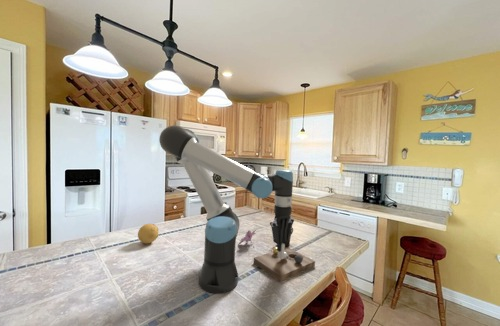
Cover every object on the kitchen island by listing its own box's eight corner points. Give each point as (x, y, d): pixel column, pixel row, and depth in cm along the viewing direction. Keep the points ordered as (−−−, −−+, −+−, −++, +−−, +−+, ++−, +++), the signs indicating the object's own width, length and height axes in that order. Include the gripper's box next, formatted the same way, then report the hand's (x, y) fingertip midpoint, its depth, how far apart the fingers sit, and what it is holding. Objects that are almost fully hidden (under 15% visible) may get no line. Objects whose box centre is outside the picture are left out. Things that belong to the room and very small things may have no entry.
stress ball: (135, 247, 108) (143, 239, 103) (133, 229, 113) (141, 220, 108) (154, 245, 115) (163, 237, 111) (152, 228, 120) (160, 220, 116)
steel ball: (284, 254, 94) (289, 253, 96) (279, 251, 97) (284, 249, 99) (284, 262, 94) (289, 260, 96) (278, 258, 97) (284, 257, 99)
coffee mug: (279, 248, 113) (280, 230, 113) (273, 242, 122) (274, 224, 121) (298, 247, 116) (300, 229, 116) (291, 240, 125) (292, 224, 124)
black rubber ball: (298, 265, 92) (299, 258, 92) (292, 262, 94) (293, 254, 94) (303, 263, 94) (304, 256, 94) (297, 260, 96) (298, 253, 96)
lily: (258, 243, 121) (252, 227, 123) (266, 243, 111) (258, 225, 113) (239, 252, 116) (233, 235, 118) (245, 253, 106) (238, 235, 108)
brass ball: (275, 256, 99) (276, 249, 98) (270, 253, 101) (271, 246, 101) (281, 255, 101) (281, 248, 101) (276, 252, 103) (276, 245, 103)
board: (280, 282, 83) (280, 275, 83) (253, 263, 97) (253, 257, 97) (314, 266, 97) (315, 261, 96) (286, 251, 110) (287, 247, 110)
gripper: (278, 208, 87) (275, 265, 88) (299, 205, 94) (297, 257, 95) (266, 204, 93) (264, 258, 94) (287, 201, 100) (285, 250, 101)
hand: (280, 257), depth 94 cm, fingers closed
